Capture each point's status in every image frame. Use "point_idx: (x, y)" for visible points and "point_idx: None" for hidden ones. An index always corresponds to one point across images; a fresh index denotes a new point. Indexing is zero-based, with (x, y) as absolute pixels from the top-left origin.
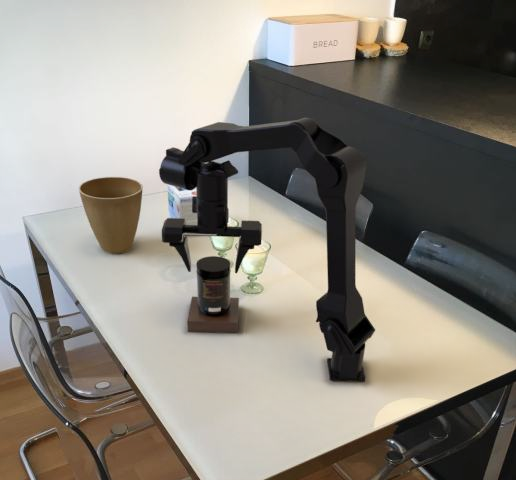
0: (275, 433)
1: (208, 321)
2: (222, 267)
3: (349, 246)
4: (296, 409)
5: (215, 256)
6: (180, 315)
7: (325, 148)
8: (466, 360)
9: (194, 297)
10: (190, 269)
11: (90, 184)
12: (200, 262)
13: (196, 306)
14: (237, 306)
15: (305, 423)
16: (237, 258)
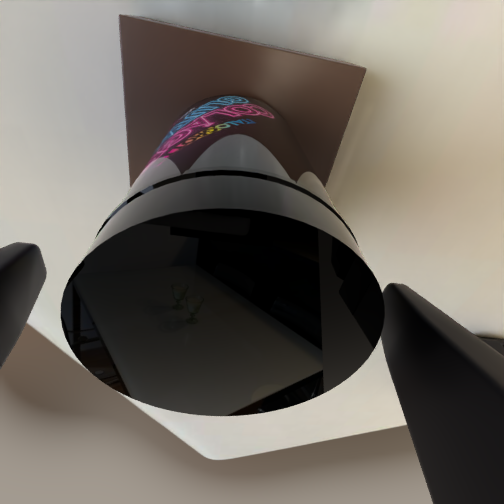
0: (288, 425)
1: None
2: (292, 384)
3: None
4: (331, 404)
5: (268, 216)
6: (95, 98)
7: None
8: None
9: (134, 32)
10: (36, 287)
11: None
12: (100, 321)
13: (155, 133)
14: (333, 153)
15: (331, 418)
16: (432, 493)
